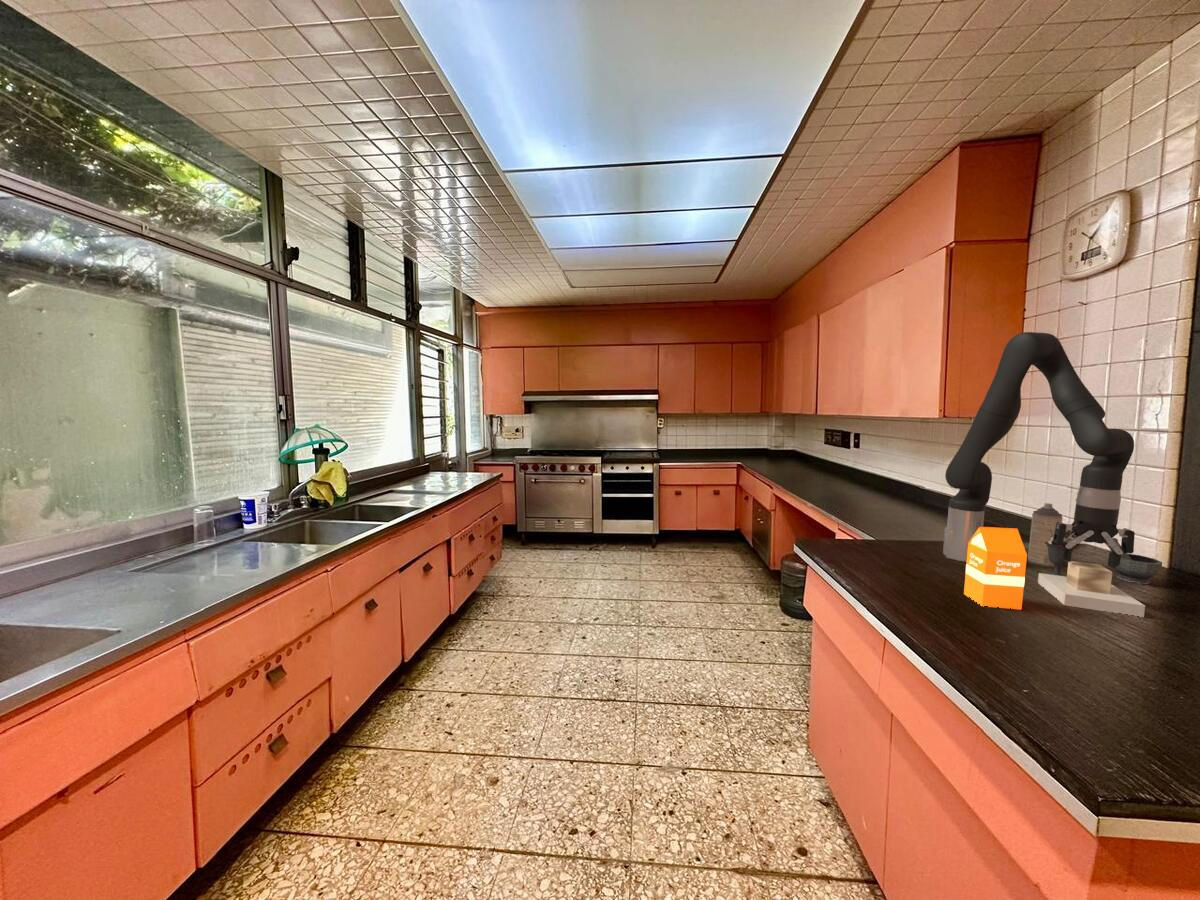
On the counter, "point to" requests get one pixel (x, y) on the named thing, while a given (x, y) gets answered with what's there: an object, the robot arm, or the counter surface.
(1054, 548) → the sundae
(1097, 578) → the birch block
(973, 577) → the orange juice
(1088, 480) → the robot arm
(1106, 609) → the cream board
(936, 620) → the counter surface
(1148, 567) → the mortar and pestle
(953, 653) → the counter surface
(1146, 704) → the counter surface
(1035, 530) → the aerosol can
